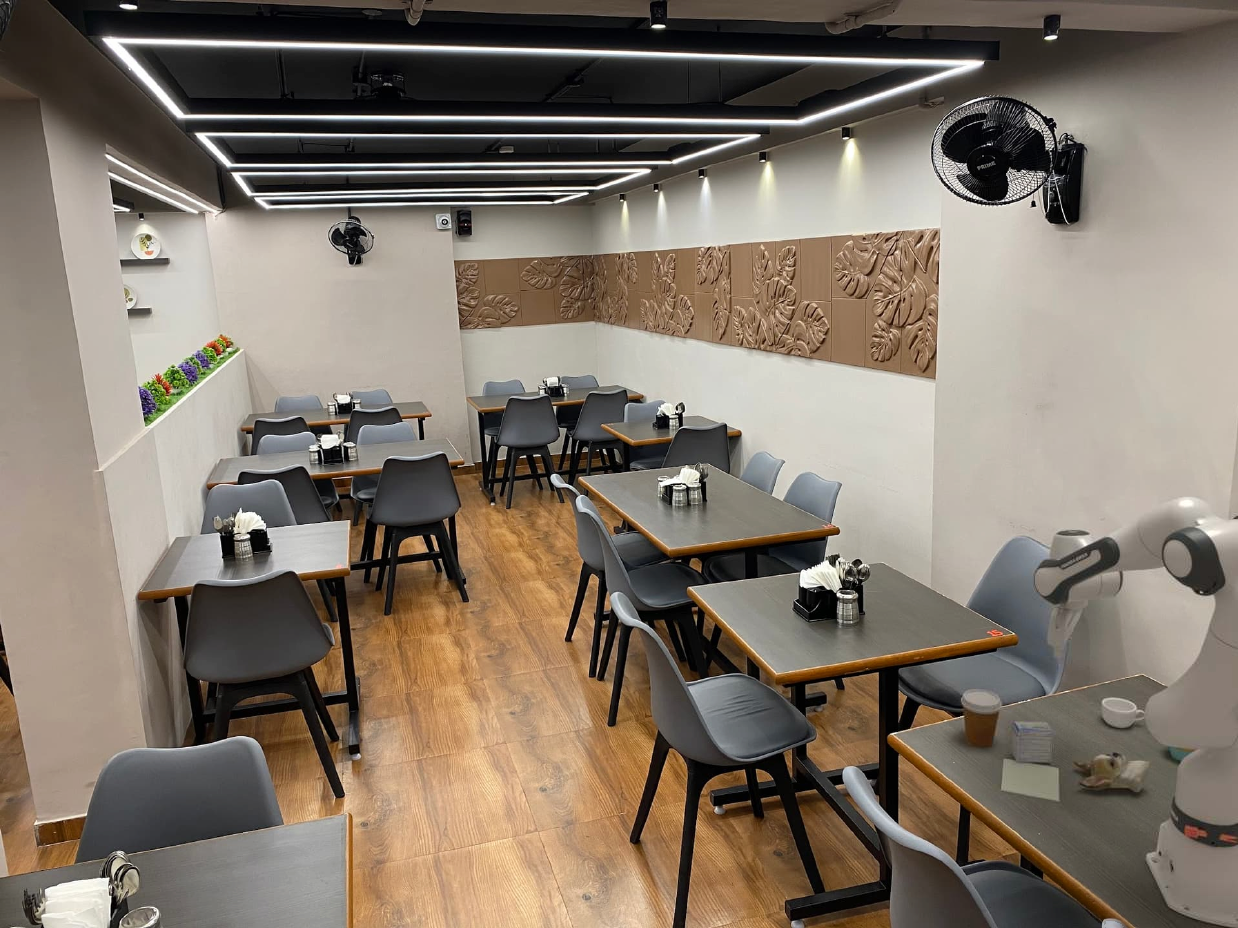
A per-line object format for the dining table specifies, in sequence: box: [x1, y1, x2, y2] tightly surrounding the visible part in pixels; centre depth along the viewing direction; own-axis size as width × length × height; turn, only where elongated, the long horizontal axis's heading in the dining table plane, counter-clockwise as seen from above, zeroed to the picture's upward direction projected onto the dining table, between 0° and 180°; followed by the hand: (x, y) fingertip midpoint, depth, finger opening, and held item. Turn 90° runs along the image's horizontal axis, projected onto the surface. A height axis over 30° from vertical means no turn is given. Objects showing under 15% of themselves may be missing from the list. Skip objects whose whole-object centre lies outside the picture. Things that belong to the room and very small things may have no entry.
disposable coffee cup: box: [960, 688, 1003, 748], centre depth 225 cm, size 10×10×12 cm
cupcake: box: [1168, 746, 1197, 762], centre depth 214 cm, size 9×8×12 cm
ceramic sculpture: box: [1072, 751, 1151, 793], centre depth 205 cm, size 11×9×15 cm
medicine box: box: [1011, 721, 1054, 764], centre depth 216 cm, size 8×4×9 cm, turn 84°
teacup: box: [1101, 697, 1145, 729], centre depth 230 cm, size 10×8×5 cm
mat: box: [1000, 758, 1060, 803], centre depth 209 cm, size 14×12×1 cm
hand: (1062, 648), depth 214 cm, fingers open, 8 cm apart
